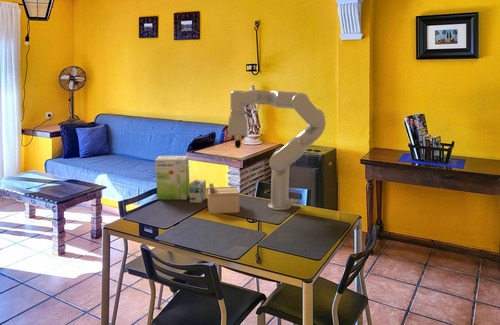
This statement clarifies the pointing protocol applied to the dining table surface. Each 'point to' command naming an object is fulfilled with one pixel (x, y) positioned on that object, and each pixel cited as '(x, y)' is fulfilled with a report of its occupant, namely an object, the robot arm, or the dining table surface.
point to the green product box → (172, 177)
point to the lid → (221, 190)
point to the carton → (223, 202)
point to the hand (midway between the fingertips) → (237, 147)
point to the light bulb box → (197, 191)
